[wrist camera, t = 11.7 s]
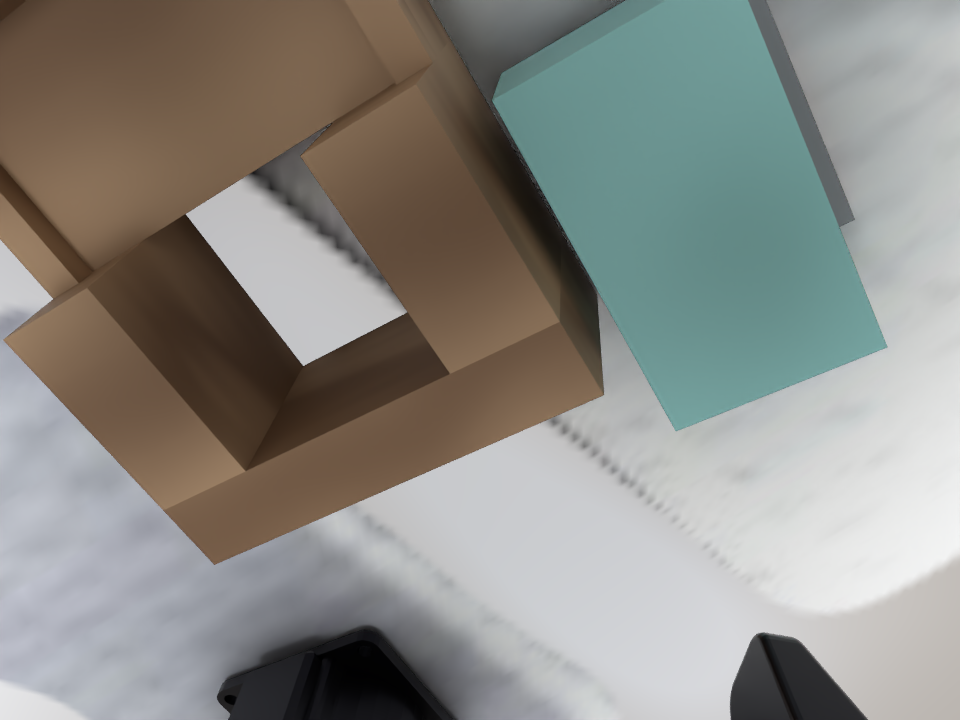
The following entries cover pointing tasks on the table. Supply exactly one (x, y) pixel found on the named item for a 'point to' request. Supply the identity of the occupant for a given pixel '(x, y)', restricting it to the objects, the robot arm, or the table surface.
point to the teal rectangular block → (691, 201)
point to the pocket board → (217, 294)
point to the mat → (802, 112)
